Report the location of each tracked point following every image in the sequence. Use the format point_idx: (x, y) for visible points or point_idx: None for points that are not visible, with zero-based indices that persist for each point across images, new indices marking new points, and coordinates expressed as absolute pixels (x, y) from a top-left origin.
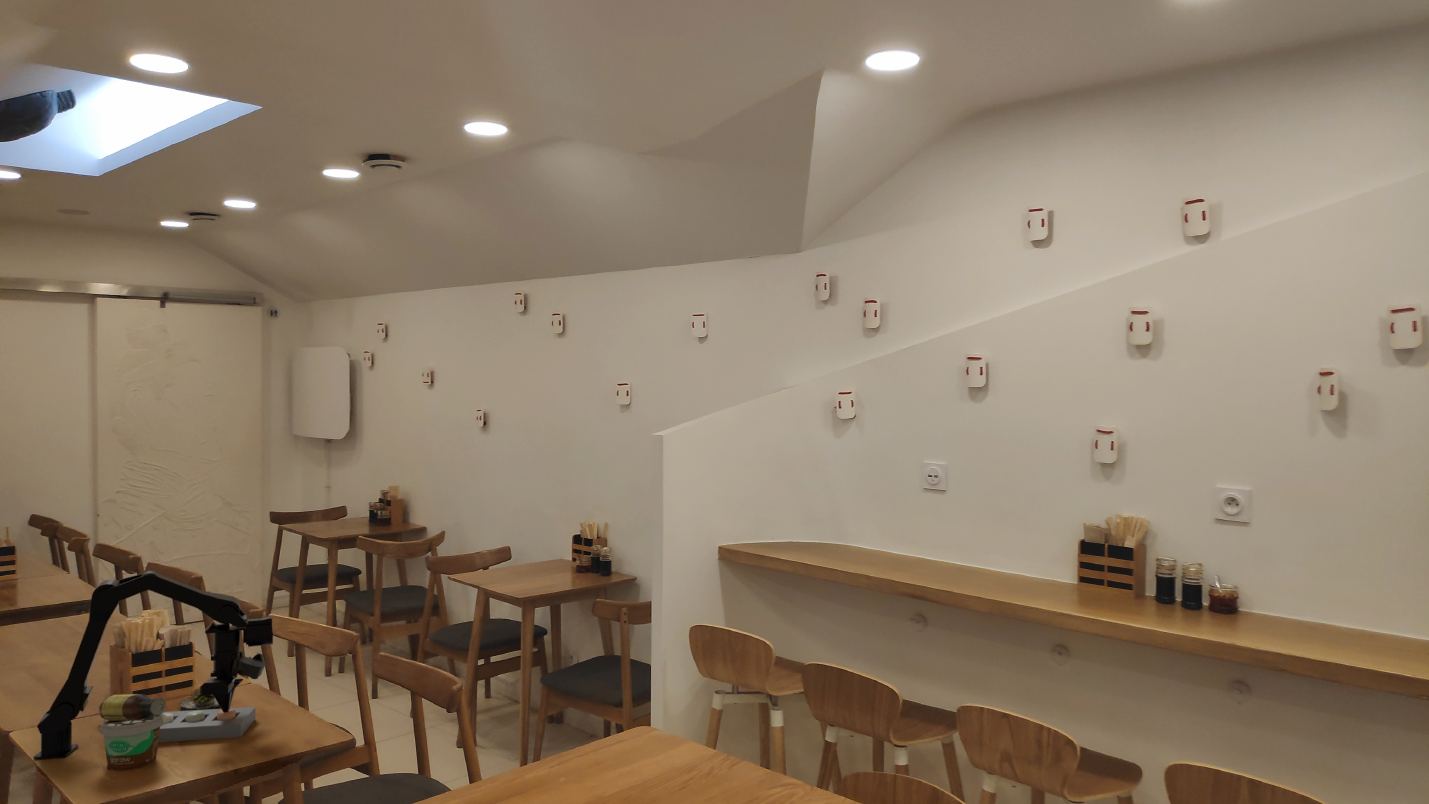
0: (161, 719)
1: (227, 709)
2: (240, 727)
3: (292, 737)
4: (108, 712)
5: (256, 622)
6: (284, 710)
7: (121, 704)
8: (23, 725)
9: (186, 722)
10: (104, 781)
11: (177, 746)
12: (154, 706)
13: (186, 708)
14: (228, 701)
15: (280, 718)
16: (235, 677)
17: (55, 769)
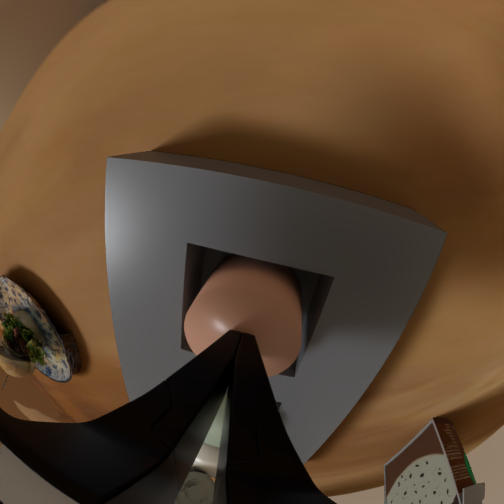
0: (469, 500)
1: (259, 351)
2: (437, 226)
3: (474, 10)
4: None
5: None
6: (82, 53)
7: None
8: None
9: None
10: (466, 442)
11: (371, 403)
12: (204, 502)
13: (71, 375)
14: (274, 403)
15: (177, 30)
16: (22, 496)
17: (354, 491)
